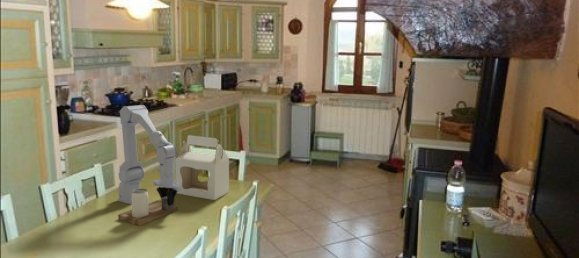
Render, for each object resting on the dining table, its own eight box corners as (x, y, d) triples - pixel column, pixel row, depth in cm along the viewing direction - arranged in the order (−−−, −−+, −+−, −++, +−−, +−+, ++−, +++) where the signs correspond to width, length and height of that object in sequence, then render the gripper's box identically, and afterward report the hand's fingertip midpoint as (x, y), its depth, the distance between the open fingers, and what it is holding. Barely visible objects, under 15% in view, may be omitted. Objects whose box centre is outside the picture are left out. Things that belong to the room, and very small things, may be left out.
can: (143, 222, 179) (142, 194, 177) (129, 221, 180) (128, 192, 178) (151, 217, 185) (151, 189, 183) (137, 215, 186) (136, 187, 184)
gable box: (229, 192, 220) (229, 136, 215) (215, 200, 208) (215, 141, 203) (190, 186, 228) (190, 132, 223) (175, 193, 216) (174, 136, 211)
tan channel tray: (118, 219, 181) (117, 202, 180) (157, 204, 199) (157, 189, 198) (139, 225, 175) (139, 208, 174) (177, 210, 193) (177, 194, 192)
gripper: (147, 172, 187) (148, 203, 190) (172, 178, 180) (173, 210, 182) (160, 168, 193) (160, 199, 196) (185, 174, 186) (185, 205, 188)
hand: (167, 204), depth 189 cm, fingers open, 3 cm apart
